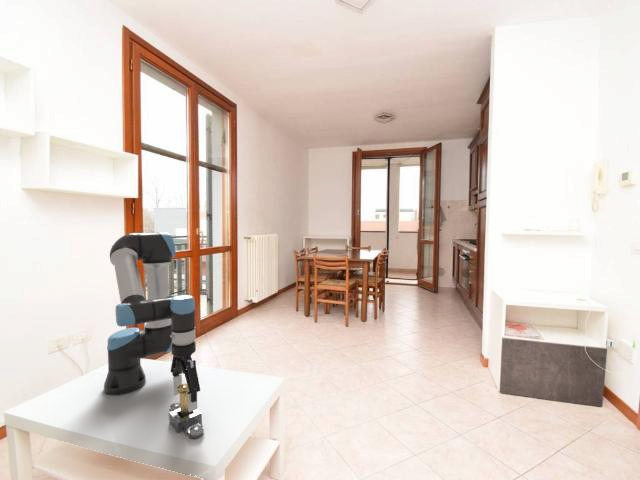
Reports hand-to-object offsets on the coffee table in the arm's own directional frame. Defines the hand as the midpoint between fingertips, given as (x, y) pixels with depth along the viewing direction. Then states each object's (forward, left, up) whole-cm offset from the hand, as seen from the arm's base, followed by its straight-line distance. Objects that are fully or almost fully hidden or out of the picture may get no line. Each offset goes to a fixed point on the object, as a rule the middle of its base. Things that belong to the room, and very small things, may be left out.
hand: (185, 401), depth 111 cm
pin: (0, 0, -7) cm, 7 cm away
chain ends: (0, 0, -7) cm, 7 cm away
